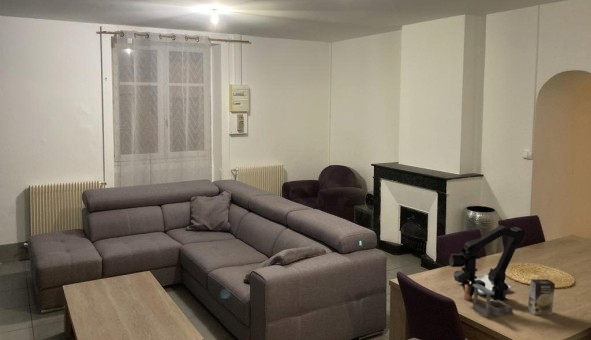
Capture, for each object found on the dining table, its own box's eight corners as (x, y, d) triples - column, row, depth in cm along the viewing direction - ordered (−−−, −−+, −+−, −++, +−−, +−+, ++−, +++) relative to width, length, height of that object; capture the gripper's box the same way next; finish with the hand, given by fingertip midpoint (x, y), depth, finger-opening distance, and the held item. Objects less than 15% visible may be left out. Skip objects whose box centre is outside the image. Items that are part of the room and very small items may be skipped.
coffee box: (534, 315, 241) (536, 284, 239) (527, 309, 248) (529, 279, 245) (552, 315, 242) (555, 283, 239) (545, 309, 248) (548, 278, 245)
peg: (468, 297, 262) (469, 283, 261) (473, 300, 259) (474, 285, 257) (462, 298, 261) (463, 283, 260) (467, 301, 257) (468, 286, 256)
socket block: (496, 304, 254) (498, 280, 251) (513, 314, 242) (515, 289, 240) (471, 308, 249) (472, 284, 247) (487, 318, 238) (489, 293, 235)
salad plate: (512, 292, 270) (512, 286, 269) (481, 298, 262) (481, 292, 262) (484, 278, 289) (484, 273, 289) (454, 283, 282) (455, 278, 281)
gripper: (446, 262, 263) (444, 289, 266) (468, 274, 246) (466, 304, 248) (463, 259, 267) (462, 287, 269) (486, 271, 249) (485, 301, 252)
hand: (468, 294), depth 259 cm, fingers closed on peg, 4 cm apart
